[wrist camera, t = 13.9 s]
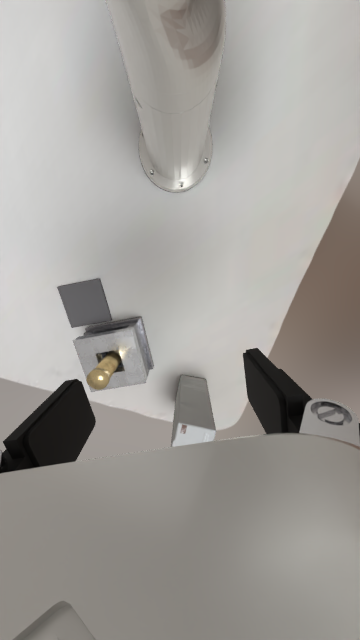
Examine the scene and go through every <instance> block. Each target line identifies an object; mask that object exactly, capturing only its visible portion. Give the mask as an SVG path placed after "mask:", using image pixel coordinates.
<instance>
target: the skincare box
mask: <svg viewBox="0 0 360 640" xmlns="http://www.w3.org/2000/svg"><path fill="white" fill-rule="evenodd" d="M215 434H216V428H215V423H214V418H213V413H212V408H211V402H210V397H209V392H208V386H207V381H206V379H202V378H196V377H191V376H186V375H181V377H180V381H179V386H178V391H177V396H176V401H175V410H174V420H173V431H172V440H171V447H175V446H182V445H189V444H196V443H203V442H210V441H214V438H215Z"/></svg>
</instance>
